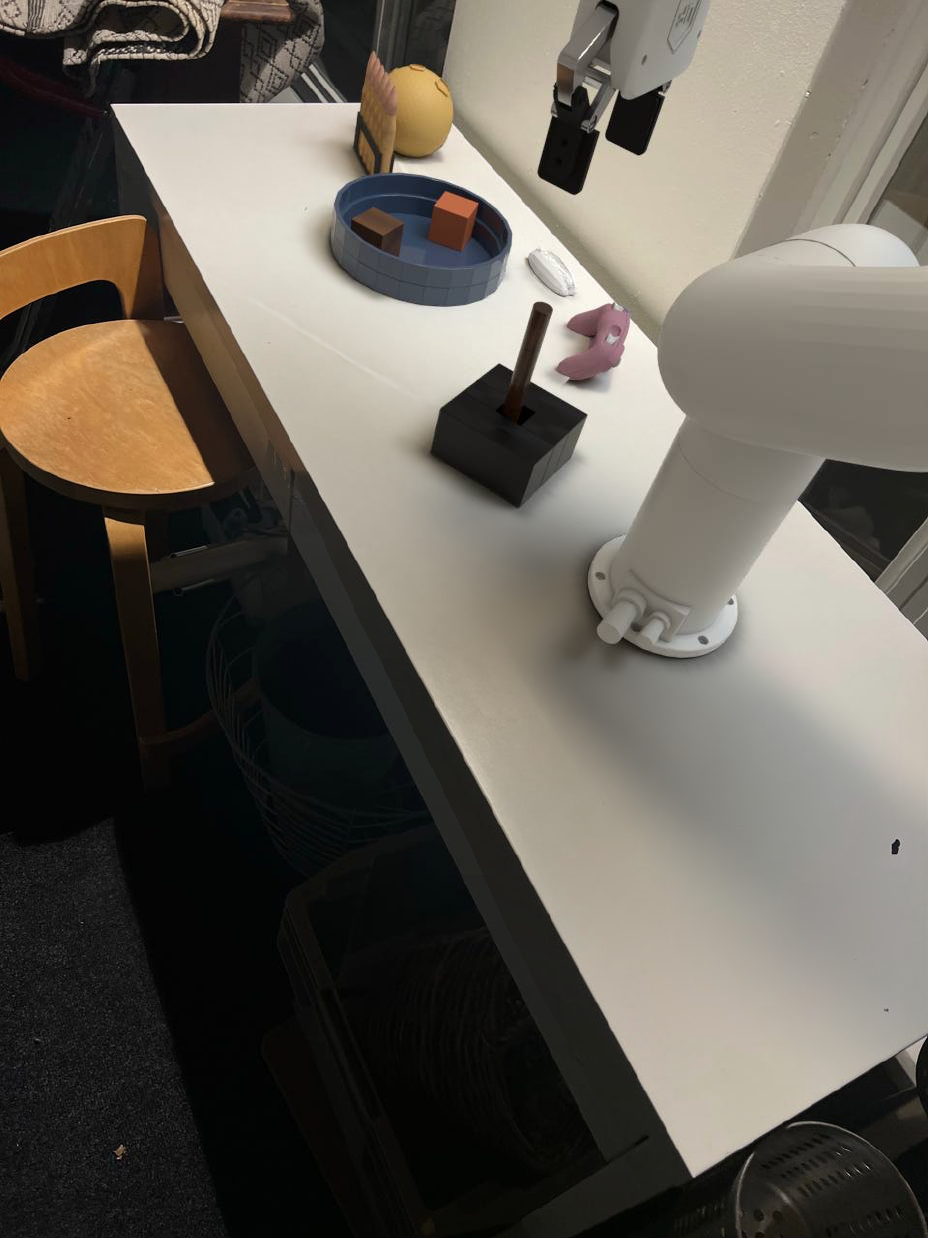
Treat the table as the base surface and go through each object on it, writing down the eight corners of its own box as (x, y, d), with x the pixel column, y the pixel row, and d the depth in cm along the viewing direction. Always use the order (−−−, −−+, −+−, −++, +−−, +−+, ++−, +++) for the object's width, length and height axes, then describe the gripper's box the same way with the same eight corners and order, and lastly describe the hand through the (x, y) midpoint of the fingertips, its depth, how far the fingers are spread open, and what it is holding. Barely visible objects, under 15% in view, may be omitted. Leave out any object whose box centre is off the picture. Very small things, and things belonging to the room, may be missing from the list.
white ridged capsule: (541, 262, 105) (548, 239, 103) (577, 302, 101) (585, 279, 99) (519, 264, 103) (525, 241, 101) (555, 304, 100) (562, 282, 97)
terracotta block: (427, 239, 101) (433, 205, 98) (438, 224, 104) (445, 190, 101) (460, 251, 101) (468, 217, 98) (471, 236, 103) (478, 202, 100)
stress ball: (445, 178, 113) (462, 93, 105) (367, 163, 111) (378, 75, 103) (444, 142, 119) (459, 59, 111) (370, 127, 117) (380, 42, 110)
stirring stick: (501, 460, 81) (547, 315, 70) (486, 452, 82) (529, 306, 70) (510, 452, 82) (556, 307, 71) (495, 443, 83) (539, 298, 71)
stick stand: (519, 508, 78) (534, 465, 74) (429, 452, 80) (439, 408, 76) (571, 456, 84) (588, 414, 80) (486, 406, 86) (499, 362, 82)
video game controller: (583, 402, 92) (634, 359, 87) (551, 373, 90) (601, 329, 86) (594, 349, 98) (641, 307, 94) (563, 322, 97) (611, 278, 92)
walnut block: (377, 271, 95) (383, 235, 92) (347, 254, 96) (351, 218, 93) (398, 257, 97) (404, 222, 94) (368, 241, 98) (373, 206, 95)
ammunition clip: (389, 198, 107) (405, 90, 98) (374, 197, 106) (388, 89, 97) (366, 153, 113) (379, 47, 103) (352, 152, 112) (363, 46, 103)
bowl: (438, 335, 91) (447, 291, 88) (293, 250, 96) (296, 205, 92) (532, 271, 103) (543, 230, 99) (399, 198, 107) (405, 156, 103)
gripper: (688, -114, 43) (579, 228, 56) (804, -137, 53) (689, 155, 66) (556, -169, 44) (480, 176, 57) (693, -181, 55) (603, 112, 68)
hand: (592, 164), depth 62 cm, fingers open, 9 cm apart
